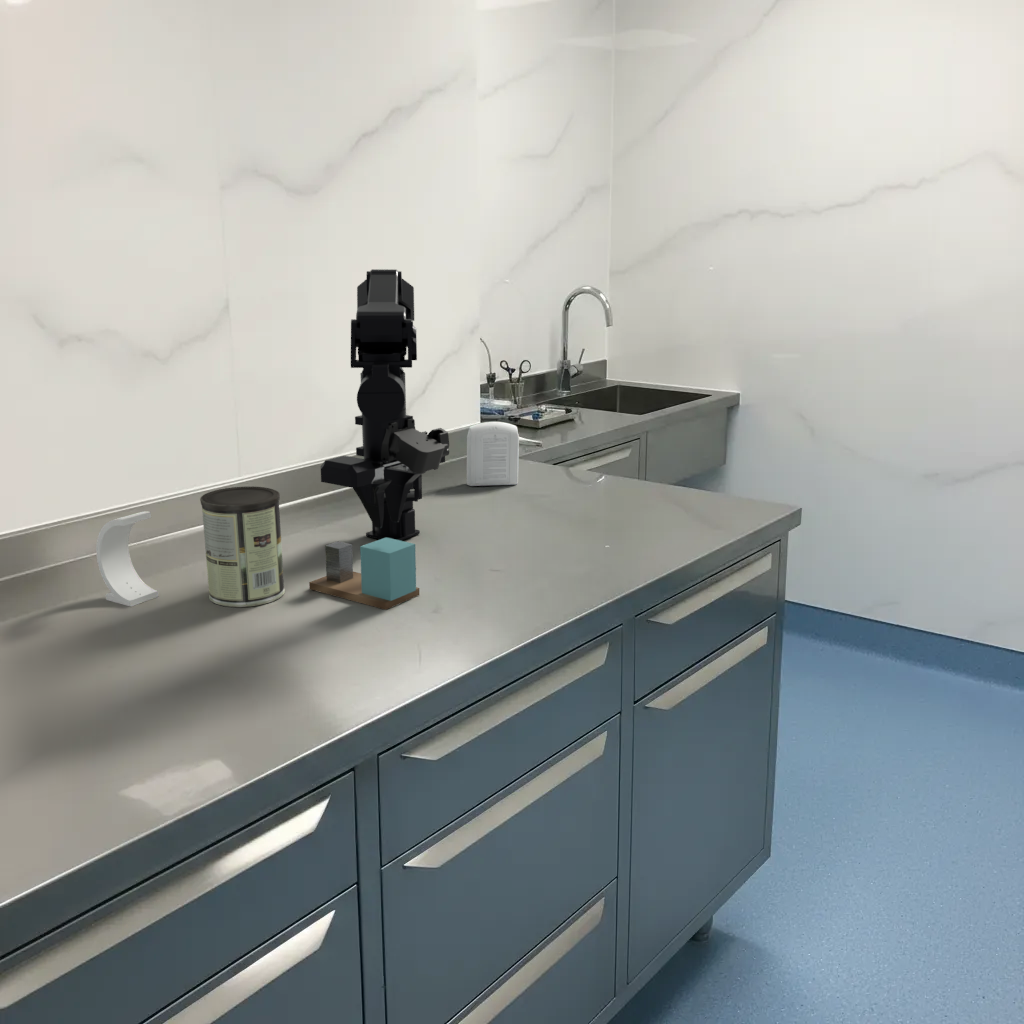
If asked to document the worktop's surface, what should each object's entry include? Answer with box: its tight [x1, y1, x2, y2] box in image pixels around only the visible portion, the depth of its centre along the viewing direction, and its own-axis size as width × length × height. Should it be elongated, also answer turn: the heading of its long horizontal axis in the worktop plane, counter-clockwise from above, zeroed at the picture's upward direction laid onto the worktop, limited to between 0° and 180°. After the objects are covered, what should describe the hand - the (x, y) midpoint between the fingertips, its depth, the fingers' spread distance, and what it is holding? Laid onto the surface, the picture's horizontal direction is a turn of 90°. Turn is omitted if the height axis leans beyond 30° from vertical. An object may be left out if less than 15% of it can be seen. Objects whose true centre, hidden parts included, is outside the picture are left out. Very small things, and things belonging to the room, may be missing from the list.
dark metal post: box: [324, 540, 354, 583], centre depth 146 cm, size 3×3×5 cm
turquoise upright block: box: [359, 537, 417, 601], centre depth 141 cm, size 5×5×7 cm
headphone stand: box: [95, 510, 159, 608], centre depth 141 cm, size 5×6×12 cm
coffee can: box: [199, 486, 286, 608], centre depth 142 cm, size 10×10×14 cm
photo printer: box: [466, 421, 520, 487], centre depth 203 cm, size 10×4×12 cm, turn 102°
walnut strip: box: [308, 571, 420, 611], centre depth 145 cm, size 14×7×1 cm, turn 56°
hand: (386, 524), depth 140 cm, fingers open, 3 cm apart
